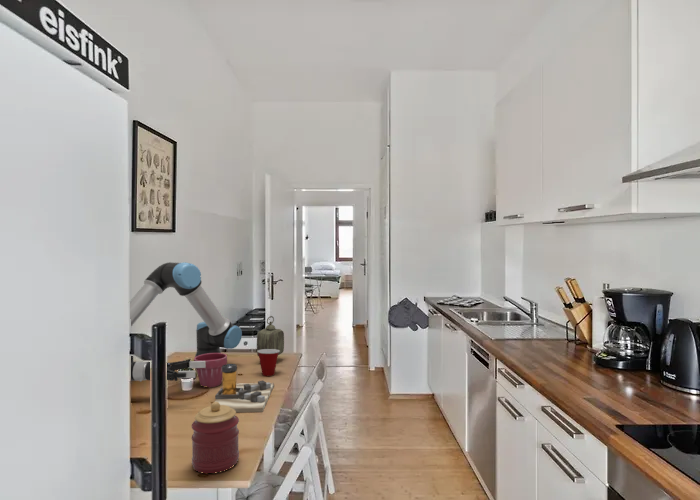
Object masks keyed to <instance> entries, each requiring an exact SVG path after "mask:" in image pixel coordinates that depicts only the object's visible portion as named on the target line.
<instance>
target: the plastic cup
mask: <svg viewBox="0 0 700 500" xmlns="http://www.w3.org/2000/svg"><path fill="white" fill-rule="evenodd" d="M256 352H258V354H259V357H258V358H259V364H260V369H261V374H262V376H263V377H272V376H274V375H275V373H276V367H277V363H278V357H279V355H278V354H279V352H280V351H279V350H276V349H262V350H258V351H257V350H256Z"/></svg>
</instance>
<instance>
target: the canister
mask: <svg viewBox="0 0 700 500" xmlns="http://www.w3.org/2000/svg"><path fill="white" fill-rule="evenodd" d="M236 414H237V413H236V411H235V410H234V409H232V408H230V407H229V406H226V405H220V404H219V402H215V401H213V402H212V403H211V405H209V406H206V407H204V408H202V409H201V410H200V411H198V412H197V413H196V414H195V415H194V419H195V420H193V422H192V423H191V429H192V431H193V434H192V435H191V441H192V443H191V445H192V448H191V449H192V450H191V452H192V454H191V455H192V456H191V465H192V468H194V469H195V470H196V471H198V472H203V473H215V472H220V471H224V470H226V469H229V468H230V467H232V466H233V465H235V464H236V463H237V464H238V462H239V458H240V450H239V434H240V430H239V428H238V424H239V422H240V419H239V417H238V416H237V415H236ZM237 461H238V462H237ZM237 464H236V465H237ZM236 465H235V466H236ZM194 469H193V470H194ZM195 470H194V471H195ZM229 470H230V469H229ZM196 471H195V472H196ZM198 472H197V473H198ZM224 472H225V471H224Z"/></svg>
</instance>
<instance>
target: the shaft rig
mask: <svg viewBox="0 0 700 500" xmlns="http://www.w3.org/2000/svg"><path fill="white" fill-rule="evenodd" d="M274 387H275V383H274V382H267V381H265V380H264V379H263V380H258V381H257V382H253V383H252V382H251V383H249V382H247V383H245V382H244V383H242V382H241V383H236V394H232V395H222V387H221V388H219V390H218V391H217V393H216V394H215V395H214V396H215V398H214V399H215V401H214V402H219V404H220V405H226V406H229V407H230V408H232V409H234V410H235V411H236V414H237V413H263V412H264V410H265V407H266V405H267V403H268V400H269V399H270V396H271V393H272V391H273V389H274Z"/></svg>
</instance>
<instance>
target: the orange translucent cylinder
mask: <svg viewBox="0 0 700 500" xmlns="http://www.w3.org/2000/svg"><path fill="white" fill-rule="evenodd" d="M237 368H238V365H237V364H235V363H227V364H226V365H223V366H222V383H221V386H222V387H221V388H222V395H232V394H236V384H237V370H238V369H237Z"/></svg>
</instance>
